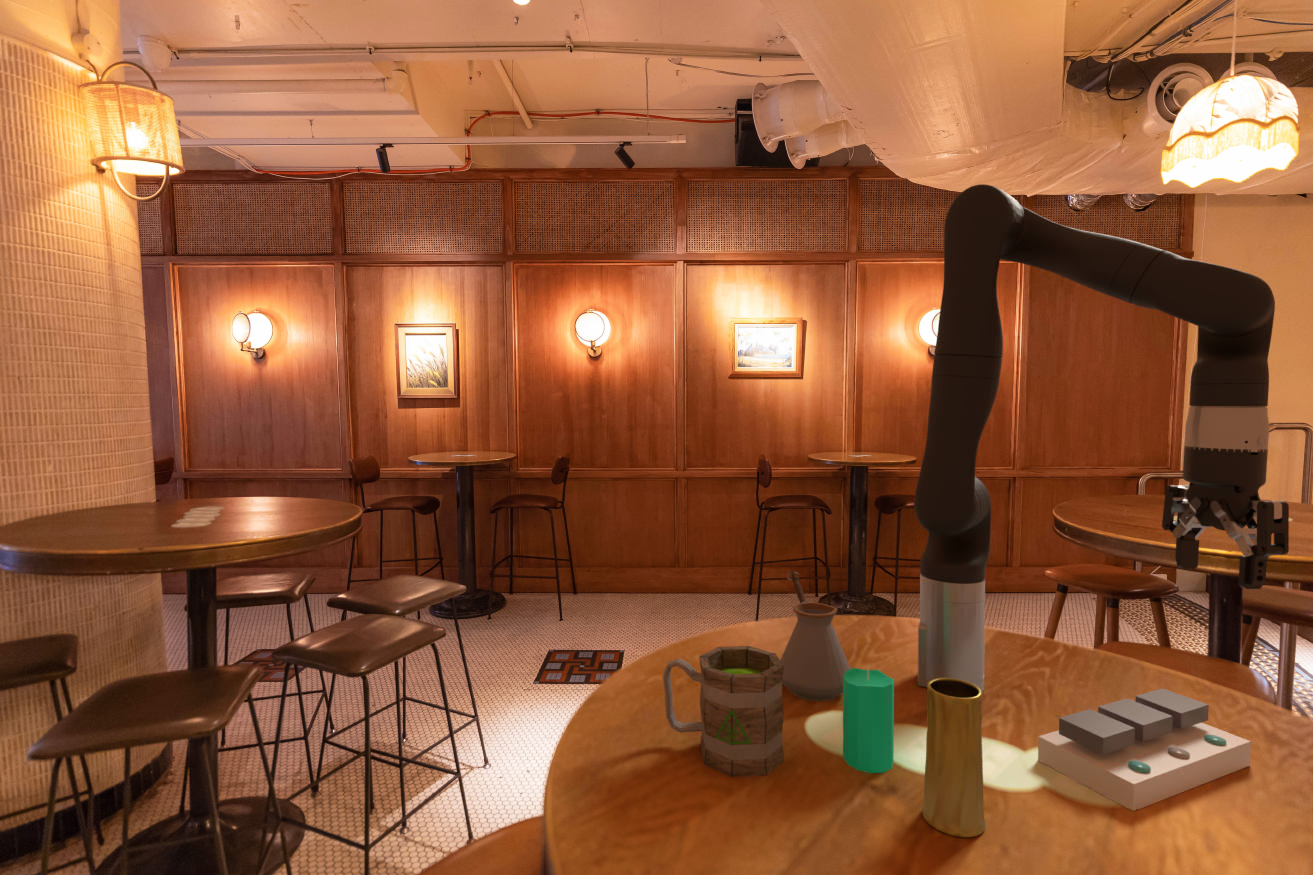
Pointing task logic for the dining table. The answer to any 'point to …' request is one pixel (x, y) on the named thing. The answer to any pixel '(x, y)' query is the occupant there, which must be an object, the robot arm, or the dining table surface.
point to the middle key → (1139, 718)
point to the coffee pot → (813, 652)
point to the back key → (1176, 707)
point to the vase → (954, 758)
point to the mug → (736, 709)
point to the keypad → (1149, 763)
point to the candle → (868, 720)
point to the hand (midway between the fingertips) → (1217, 577)
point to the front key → (1097, 731)
